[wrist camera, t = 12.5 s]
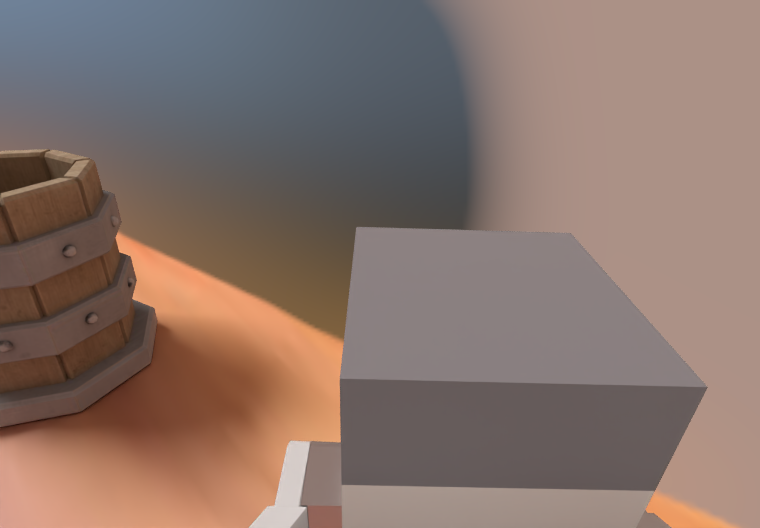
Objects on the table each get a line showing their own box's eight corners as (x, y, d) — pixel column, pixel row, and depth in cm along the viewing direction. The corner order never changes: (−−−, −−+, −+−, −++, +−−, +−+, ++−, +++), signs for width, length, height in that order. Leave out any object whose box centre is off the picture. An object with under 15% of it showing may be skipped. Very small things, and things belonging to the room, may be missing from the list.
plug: (525, 745, 11) (707, 387, 6) (344, 743, 11) (340, 378, 5) (487, 556, 15) (570, 233, 9) (354, 554, 15) (356, 227, 9)
